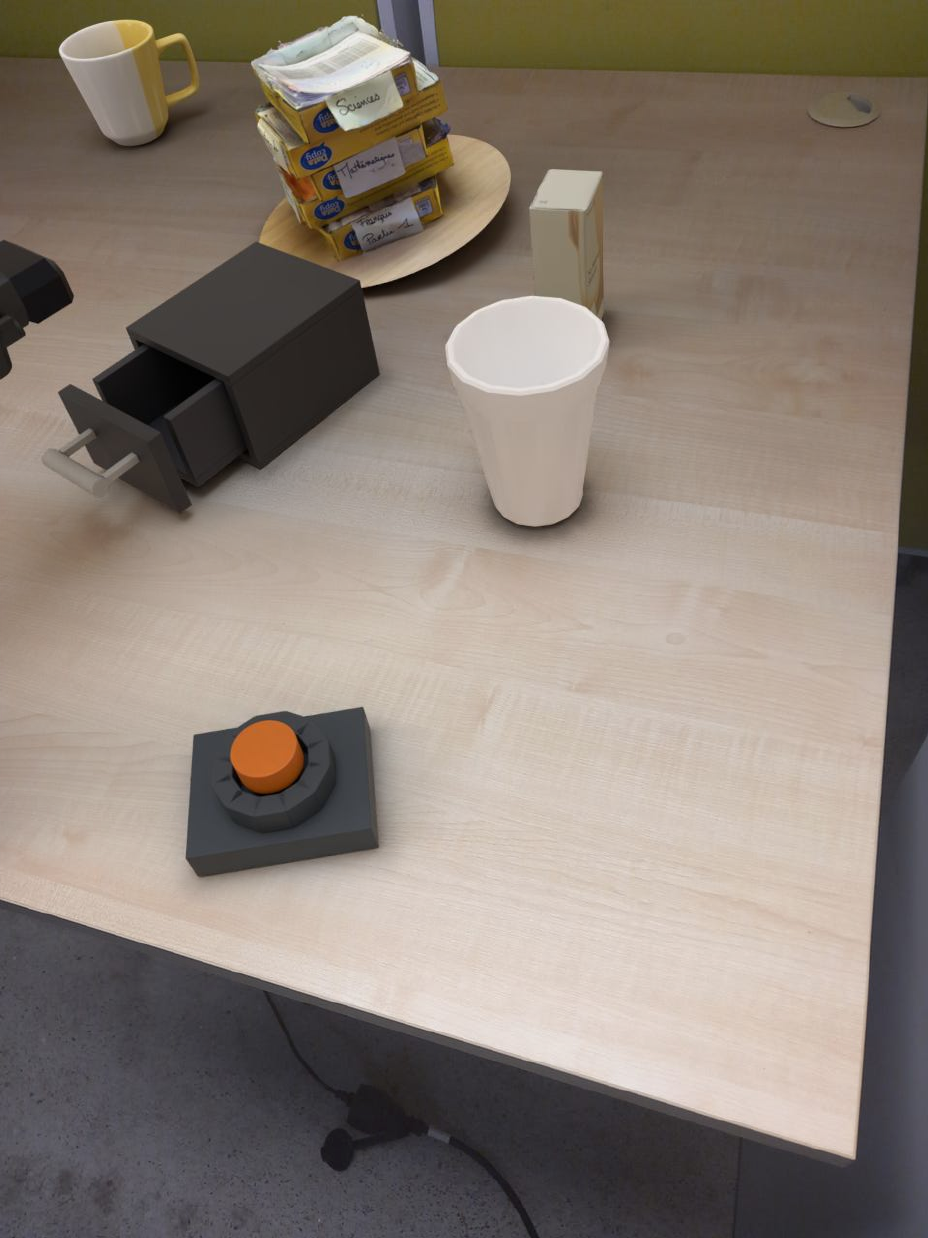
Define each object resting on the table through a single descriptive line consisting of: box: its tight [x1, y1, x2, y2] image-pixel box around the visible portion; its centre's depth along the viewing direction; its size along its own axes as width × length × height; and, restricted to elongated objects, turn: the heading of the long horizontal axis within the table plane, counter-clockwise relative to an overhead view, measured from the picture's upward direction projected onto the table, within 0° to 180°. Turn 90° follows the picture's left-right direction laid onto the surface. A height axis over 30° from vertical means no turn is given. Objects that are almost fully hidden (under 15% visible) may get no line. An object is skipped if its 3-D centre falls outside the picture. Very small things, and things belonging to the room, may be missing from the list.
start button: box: [230, 720, 304, 794], centre depth 55 cm, size 4×4×2 cm
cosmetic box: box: [528, 168, 605, 321], centre depth 80 cm, size 6×4×12 cm
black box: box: [125, 241, 380, 470], centre depth 80 cm, size 14×12×9 cm
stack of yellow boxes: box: [250, 13, 512, 289], centre depth 92 cm, size 25×25×17 cm
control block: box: [185, 706, 380, 878], centre depth 57 cm, size 10×8×4 cm
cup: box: [444, 295, 610, 527], centre depth 67 cm, size 10×10×13 cm
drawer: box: [41, 344, 248, 515], centre depth 75 cm, size 17×10×7 cm, turn 141°
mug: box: [58, 19, 201, 147], centre depth 114 cm, size 14×10×10 cm
